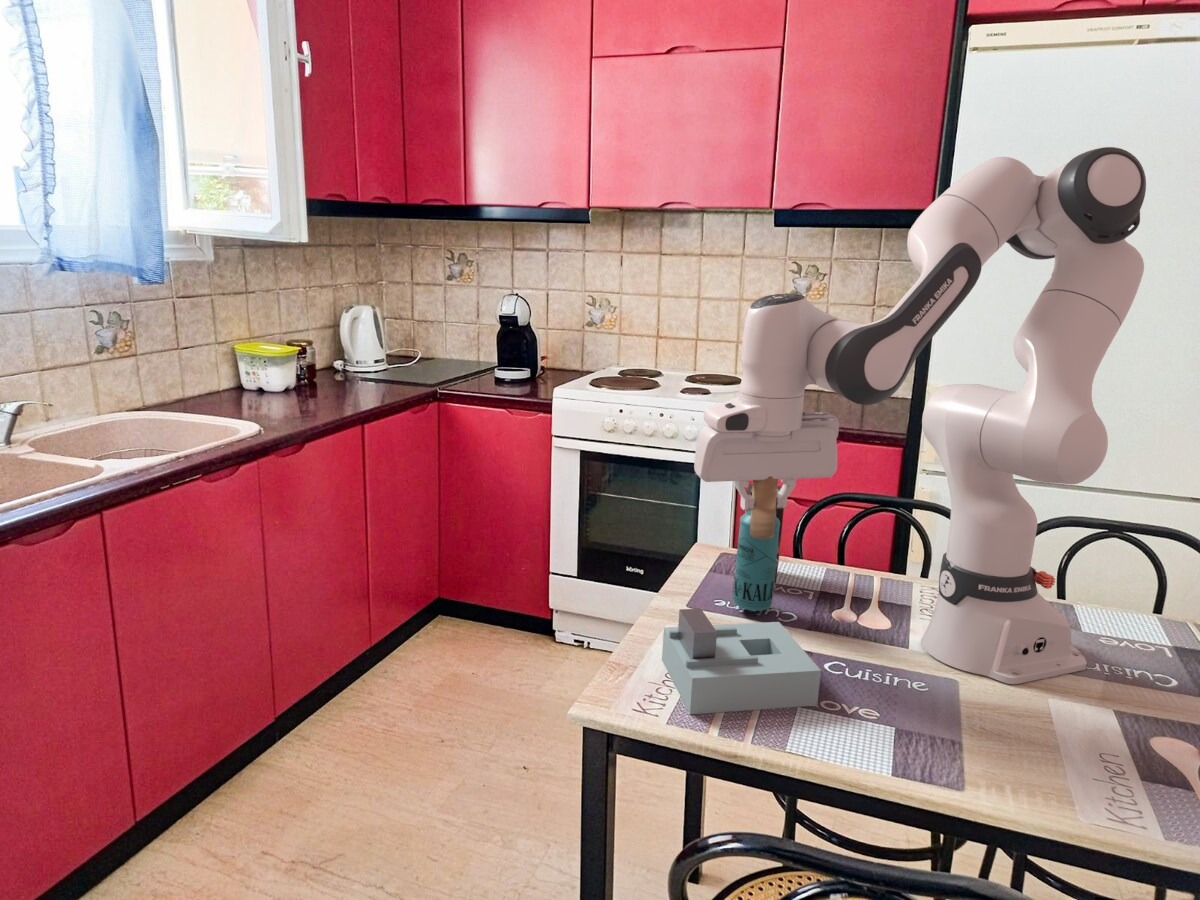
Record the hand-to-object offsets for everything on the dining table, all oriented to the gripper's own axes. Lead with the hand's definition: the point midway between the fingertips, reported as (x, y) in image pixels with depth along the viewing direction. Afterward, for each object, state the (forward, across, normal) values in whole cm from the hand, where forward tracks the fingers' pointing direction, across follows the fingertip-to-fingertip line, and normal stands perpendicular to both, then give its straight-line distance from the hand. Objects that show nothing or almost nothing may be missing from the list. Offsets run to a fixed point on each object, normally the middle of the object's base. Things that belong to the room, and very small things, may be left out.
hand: (763, 508), depth 120 cm
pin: (+4, 0, 0) cm, 4 cm away
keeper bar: (+15, +13, +11) cm, 23 cm away
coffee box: (+21, -9, -23) cm, 33 cm away
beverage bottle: (+21, -3, -10) cm, 24 cm away
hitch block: (+21, +7, +11) cm, 24 cm away
